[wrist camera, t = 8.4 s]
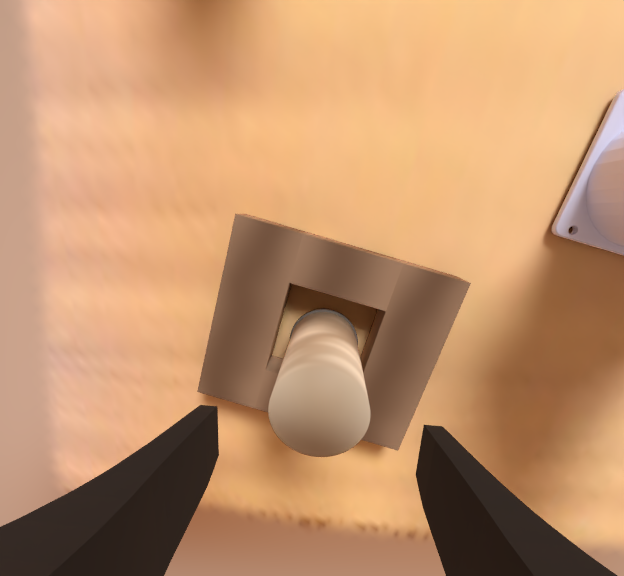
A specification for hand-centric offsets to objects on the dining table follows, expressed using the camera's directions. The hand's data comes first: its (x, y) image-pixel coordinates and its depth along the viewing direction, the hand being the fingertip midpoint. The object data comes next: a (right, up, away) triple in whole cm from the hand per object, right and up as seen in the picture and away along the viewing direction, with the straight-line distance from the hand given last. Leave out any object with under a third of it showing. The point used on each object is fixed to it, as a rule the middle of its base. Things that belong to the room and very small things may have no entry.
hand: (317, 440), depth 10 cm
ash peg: (+1, +2, +10) cm, 10 cm away
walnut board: (+1, +2, +10) cm, 10 cm away
